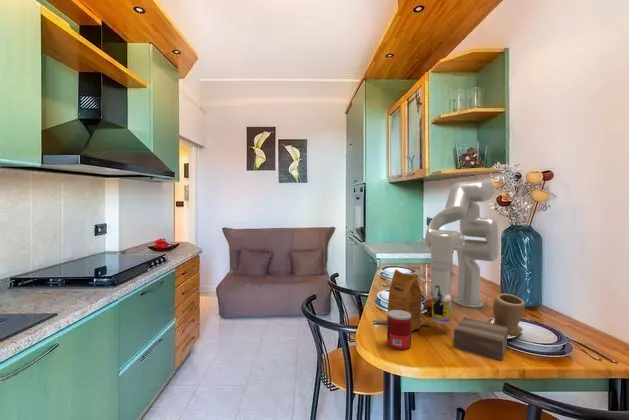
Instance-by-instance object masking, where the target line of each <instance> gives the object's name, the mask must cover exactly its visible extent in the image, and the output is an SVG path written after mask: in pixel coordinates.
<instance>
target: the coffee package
mask: <svg viewBox="0 0 629 420" xmlns="http://www.w3.org/2000/svg"><path fill="white" fill-rule="evenodd" d="M418 278H419V276H418V274H414V273H404V272H401V271H400V270H398V269H395V270H394V272H393V276H392V279H391V283H390V287H389V289H388V290H389V291H388V298H387V299H388V300H387V313H388V312H389V311H391V310H402V311H406V312H409V313H410V314H411V332H413V331H415V330H419V329H420V328H421V327H422V325H421V324H422V323H421V321H422V317H421V316H422V315H421V314H422V310H421V309H422V290H421V288H420V284H419V282H418Z"/></svg>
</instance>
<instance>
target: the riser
mask: <svg viewBox="0 0 629 420" xmlns="http://www.w3.org/2000/svg"><path fill="white" fill-rule="evenodd" d="M507 337H508V327H505V326H501V325H496V324H492V322H487V321H482V320H479V319H475V318H474V319H473V318H469V317H466V316H464V317H463V318H462V319H461V320H460V322H459V323H458V324H457V325H456V326H455V328H454V329H453V347H454V348H456V349H461V350H463V351H467V352H471V353H475V354H478V355H482V356H485V357H487V358H492V359H495V360H499V361H503V360H504V356H505V353H506V351H507V347H508V345H507Z"/></svg>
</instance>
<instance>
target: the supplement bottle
mask: <svg viewBox="0 0 629 420" xmlns="http://www.w3.org/2000/svg"><path fill="white" fill-rule="evenodd" d="M448 292H449V291H448V290H447V295H446V296H445V297H443V302H442V305H443V316H441V315H437V314H434V298H433V296H434V295H433V296H432V295H431V296H432V297H431V299H432V314H431V319H432V320H433V322H435V323H438V324H441V325H442V324H443V325H444V324H445V325H447V324H450V323H451V321H452V297H451V295H450V292H449V293H448ZM438 296H441V295H438ZM438 299H439V300H440V299H441V298H438Z"/></svg>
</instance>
